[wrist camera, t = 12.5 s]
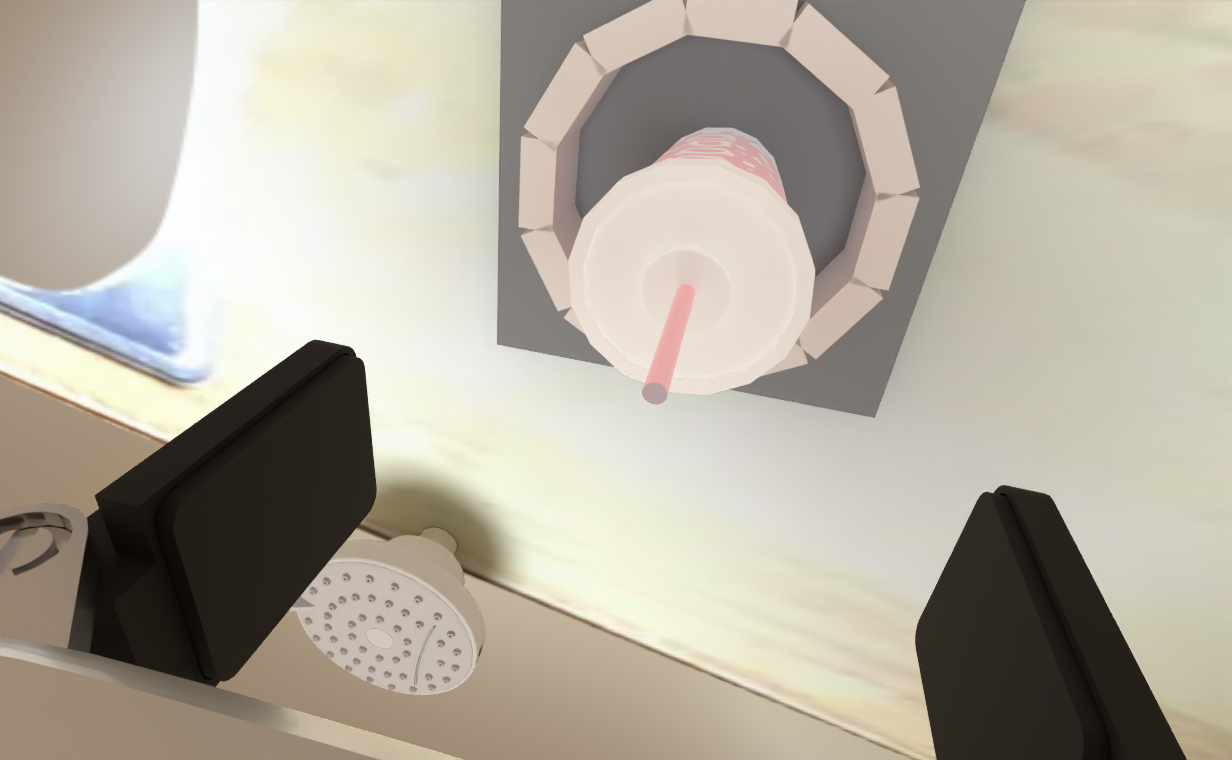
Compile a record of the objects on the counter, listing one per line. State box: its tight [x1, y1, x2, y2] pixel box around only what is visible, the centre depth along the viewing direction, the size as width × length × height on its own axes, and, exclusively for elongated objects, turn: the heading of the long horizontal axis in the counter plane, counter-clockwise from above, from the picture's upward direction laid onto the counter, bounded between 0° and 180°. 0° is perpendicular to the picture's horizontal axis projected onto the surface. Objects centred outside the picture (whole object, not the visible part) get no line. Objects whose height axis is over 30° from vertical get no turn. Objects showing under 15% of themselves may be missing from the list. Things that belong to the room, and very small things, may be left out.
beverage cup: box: [568, 128, 815, 404], centre depth 19 cm, size 6×6×14 cm
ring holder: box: [497, 0, 1026, 418], centre depth 24 cm, size 16×16×4 cm
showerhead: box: [289, 527, 485, 695], centre depth 35 cm, size 9×7×10 cm
